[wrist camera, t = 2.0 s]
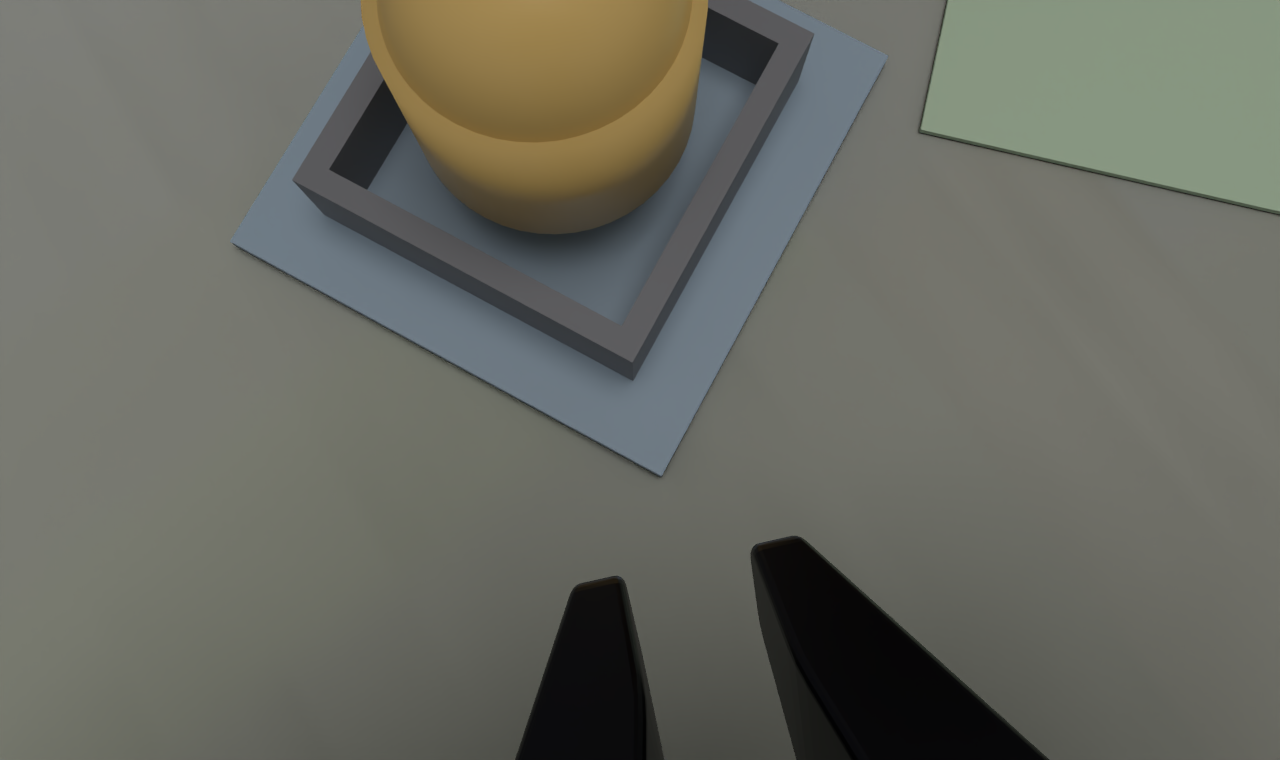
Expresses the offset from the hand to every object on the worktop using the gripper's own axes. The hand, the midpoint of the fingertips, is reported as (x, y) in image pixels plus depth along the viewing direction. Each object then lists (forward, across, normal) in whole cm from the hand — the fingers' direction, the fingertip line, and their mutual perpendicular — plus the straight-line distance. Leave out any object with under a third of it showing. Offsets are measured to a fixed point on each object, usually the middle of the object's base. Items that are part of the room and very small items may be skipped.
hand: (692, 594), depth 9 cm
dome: (+14, 0, +1) cm, 14 cm away
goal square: (+16, -13, +3) cm, 21 cm away
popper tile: (+16, 0, +3) cm, 16 cm away
